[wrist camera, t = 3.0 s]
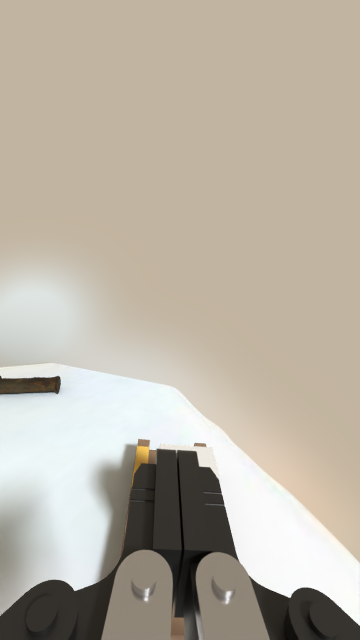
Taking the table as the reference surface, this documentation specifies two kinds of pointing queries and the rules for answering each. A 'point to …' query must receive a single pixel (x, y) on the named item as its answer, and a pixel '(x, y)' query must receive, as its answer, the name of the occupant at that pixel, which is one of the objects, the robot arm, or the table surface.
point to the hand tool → (30, 385)
